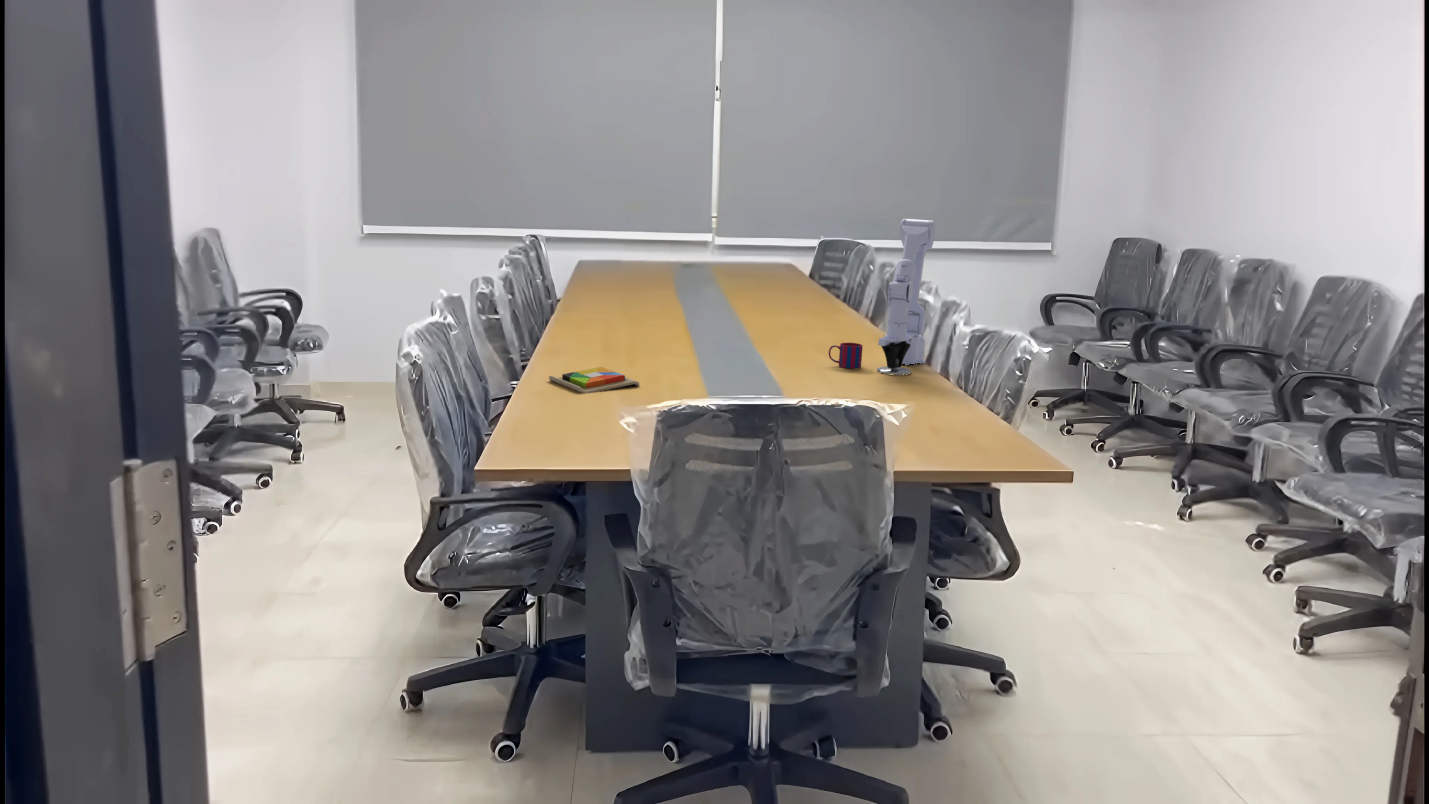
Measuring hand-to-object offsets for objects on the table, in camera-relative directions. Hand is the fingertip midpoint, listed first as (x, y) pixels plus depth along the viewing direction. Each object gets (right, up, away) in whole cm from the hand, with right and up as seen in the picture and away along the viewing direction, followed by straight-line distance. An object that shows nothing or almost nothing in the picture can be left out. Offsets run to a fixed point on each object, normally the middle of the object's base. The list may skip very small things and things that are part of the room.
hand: (894, 367), depth 322 cm
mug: (-14, 0, +6) cm, 15 cm away
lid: (0, -1, 0) cm, 1 cm away
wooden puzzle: (-86, -6, -32) cm, 91 cm away
